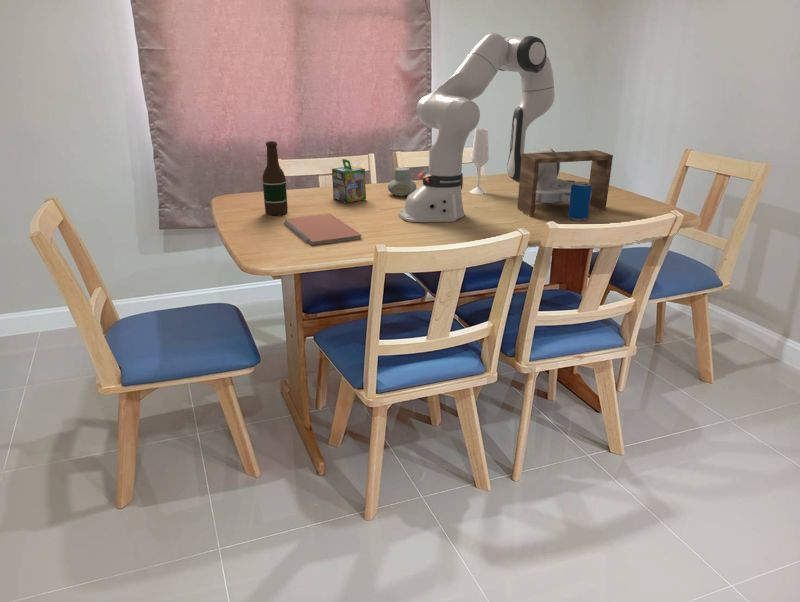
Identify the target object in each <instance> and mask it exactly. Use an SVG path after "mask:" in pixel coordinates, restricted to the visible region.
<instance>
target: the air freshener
mask: <svg viewBox="0 0 800 602" xmlns="http://www.w3.org/2000/svg"><path fill="white" fill-rule="evenodd" d="M393 178H394V179H392V180H391V181H390V182H389V183H388V184H387V190H388V192H390V194H392V195H393V196H396V197H400V198H401V197H402V198H404V197H408V196H409V195H410V194H411V193H412V192H414V191H415V190H416V189H417V188H418V187H417V184H416V182H415V181H414V180H412V179H411V169H410V168H409V167H405V166H404V167H403V166H401V167H396V168H394V177H393Z"/></svg>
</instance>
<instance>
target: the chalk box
mask: <svg viewBox="0 0 800 602" xmlns="http://www.w3.org/2000/svg"><path fill="white" fill-rule="evenodd" d="M341 161H342V164H343V166H339V167H334V168H331V172H332V173H331V176H332V180H331V181H332V196H333V198H334V199H333V200H336V199H337V201H339V202H341V201H342V203H344V202H345V203H344V204H348V202H350V203H355V202H358V201H359V202H360V201H365V200H367V194H366V193H367V192H366V189H367V188H366V168H363V167H359V166H355V165H352V163H351V161H350V160H348V159H345V158H342V159H341Z"/></svg>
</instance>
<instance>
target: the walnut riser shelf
mask: <svg viewBox="0 0 800 602" xmlns="http://www.w3.org/2000/svg"><path fill="white" fill-rule="evenodd" d="M524 153H525V154H522V157H521V169H520V181H519V182H518V183H519V184H518V193H517V194H518V196H517V207H516V209H518V211H519V210H520V211H519V212H521V211H522V212H524V213H526V214H527V215H526V214H525V215H526V216H528V215H529V216H534V217H535V211H536V210H535V209H536V202H537V201H536V190H537V179H538V168H539V163H556V162H560V163H571V162H572V163H574V162H590V161H591V165H590V174H589V181H588V183H590V184H591V187H592V189H591V190H592V196H591V199H590V204H589V208H590V207H591V208H593V209H595V210H597V211H599V212H606V211H607V210H606V209H607V201H608V194H609V188H610V181H611V173H612V166H613V159H614V154H610V153H607V152H604V151H600V150H598V149H596V150H595V149H594V150H576V151H575V150H574V151H570V150H569V151H554V152H547V153H526V152H524ZM522 212H521V213H522ZM524 213H523V214H524ZM529 216H528V217H529Z"/></svg>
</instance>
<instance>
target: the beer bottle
mask: <svg viewBox="0 0 800 602" xmlns="http://www.w3.org/2000/svg"><path fill="white" fill-rule="evenodd" d="M265 146H266V167H265V169H264V170H263V174H262V188H263V200H264V201H263V203H264V210H265V211H264V212H265V214H266V215H267V216H271V217H278V216H279V215H280V216H284V215H286V213H287V214H288V209H289V207H288V196H287V195H288V193H287V180H286V175H285V172H284V170H283V169H282V168H281V166H280V164H279V163H280V162H279V154H278V147H277V146H278V142H276V141H273V140H272V141H267V142H266V141H265Z"/></svg>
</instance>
